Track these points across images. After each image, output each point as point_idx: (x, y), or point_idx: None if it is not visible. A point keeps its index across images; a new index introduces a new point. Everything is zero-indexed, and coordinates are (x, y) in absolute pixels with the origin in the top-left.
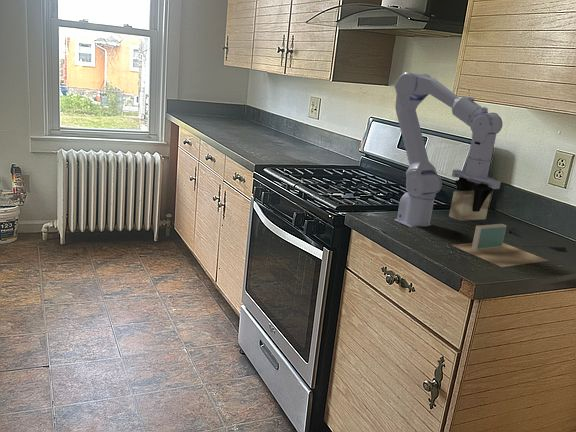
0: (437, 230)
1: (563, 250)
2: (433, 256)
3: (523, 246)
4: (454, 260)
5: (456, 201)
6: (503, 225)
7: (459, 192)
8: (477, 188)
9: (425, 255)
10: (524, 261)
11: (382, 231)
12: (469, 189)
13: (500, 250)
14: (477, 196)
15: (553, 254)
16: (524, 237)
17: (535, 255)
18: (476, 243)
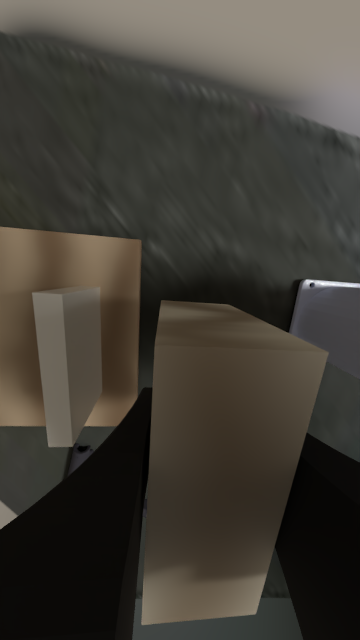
0: None
1: None
2: (95, 96)
3: (76, 453)
4: (46, 144)
5: (229, 322)
6: (49, 433)
7: (264, 372)
8: (22, 570)
9: (111, 70)
10: None
11: (344, 144)
12: (288, 552)
13: None
14: (96, 457)
15: (39, 490)
16: None
17: (7, 424)
18: (76, 287)
